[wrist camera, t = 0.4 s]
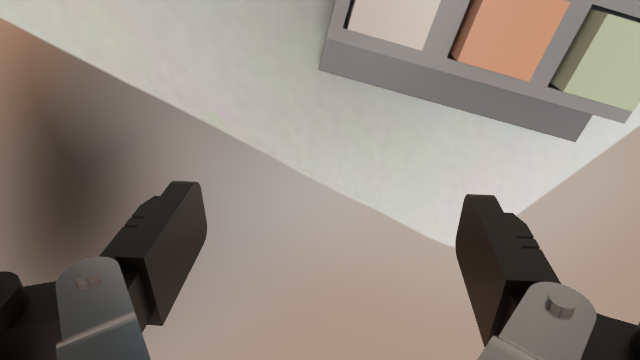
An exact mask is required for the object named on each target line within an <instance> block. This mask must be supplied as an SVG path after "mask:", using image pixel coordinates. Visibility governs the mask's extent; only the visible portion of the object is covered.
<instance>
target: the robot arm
mask: <svg viewBox="0 0 640 360" xmlns="http://www.w3.org/2000/svg"><path fill="white" fill-rule="evenodd" d="M206 233H207V222H206V216H205V210H204V204H203V198H202V192H201V187H200V184H199V183H198V182H188V181H172V182H171V183H170V184H169V186H168V187H167V188H166V189H165V191H164V192H163V193H162V195H161V196H154V197H152V198H151V199H149V200H148V201H146V202H145V203H143V204H142V205H140V206H139V208H138V209H137V210H136V211H135V213H134V214H133V215H132V218H130V219H129V220H128V221H127V222H126V224H125V226H124V227H122V229H121V230H120V231H119V232H118V233H117V235H116V236H115V237H114V238H113V240H112V241H111V242H110V243H109V245H108V246H107V247H106V248H105V250H104V251H103V252H102V253H101V254H100V256H99V257H93V258H89V259H85V260H82V261H79V262H77V263H75V264H73V265H72V266H70V267H69V268H67V269H66V270H65V271H64V272H62V274H61V275H60V276H59V277H58V279H57V281H55V282H49V283H43V284H37V285H32V286H26V287H23V285H22V283H21V281H20V279H19V277H18V276H17V275H16V274H14V273H11V272H0V360H150V356H149V353H148V350H147V347H146V344H145V341H144V338H143V335H142V332H143V330H144V329H145V327H146V325H159V326H162V325H163V324H164V322H165V320H166V318H167V316H168V314H169V312H170V310H171V308H172V306H173V304H174V302H175V300H176V298H177V296H178V294H179V292H180V290H181V288H182V286H183V284H184V282H185V280H186V278H187V276H188V274H189V272H190V270H191V268H192V266H193V264H194V262H195V260H196V258H197V256H198V254H199V252H200V250H201V248H202V246H203V244H204V241H205V239H206ZM456 255H457V259H458V262H459V266H460V269H461V272H462V275H463V278H464V282H465V285H466V288H467V292H468V295H469V298H470V301H471V305H472V308H473V311H474V314H475V318H476V321H477V324H478V327H479V331H480V334H481V337H482V340H483V343H484V347H485V349H484V350H483V352H482V353H481V355H480V356H479V358H478V360H640V323H639V325H634V324H631V323H627V322H624V321H620V320H617V319H613V318H609V317H606V316H603V315H600V314H598V313H596V311H595V309H594V307H593V305H592V304H591V303H590V301H589V300H588V299H587V298H586V297H584V296H583V295H582V294H580V293H579V292H577V291H576V290H574V289H572V288H570V287H568V286H565V285H562V284H561V283H560V281H559V279H558V278H557V276H556V274H555V273H554V271H553V269H552V267H551V266H550V264H549V262H548V261H547V259H546V257H545V256H544V254H543V252H542V250H540V249H539V245H538V243H537V242H536V240H535V239H533V235H532V233H531V232H530V230H529V228H528V226H527V225H526V224H525V223H524V222H523V221H521V220H520V219H519V218H518V217H517V216H515V215H514V214H513V213H504V212H503V210H502V208H501V207H500V205H499V203H498V201H497V199H496V197H495V196H493V195H473V194H467V195H466V197H465V199H464V203H463V207H462V212H461V217H460V221H459V226H458V231H457V236H456Z"/></svg>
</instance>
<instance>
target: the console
mask: <svg viewBox="0 0 640 360" xmlns="http://www.w3.org/2000/svg"><path fill="white" fill-rule="evenodd" d="M565 1H569V2H571V3H570V5H569V7H568V9H567V11H566V13H565V14H564V16H563V18H562V20H561V22H560V24H559V26H558V28H557V30H556V32H555V33H554V35H553V37H552V39H551V41H550V43H549V45H548V47H547V49H546V51H545V53H544V54H543V56H542V58H541V60H540V62H539V64H538V66H537V68H536V70H535V72H534V74H533V75H532V77H531V79H530V81H529V82H528V81H525V80H521V79H518V78H514V77H511V76H507V75H504V74H500V73H497V72H493V71H490V70H487V69H483V68H480V67H476V66H473V65H469V64H466V63H462V62H459V61H457V60H456V59H455V58H454V57H453V56H452V55H451V54H450V52H449V51H450V48H451V46H452V43H453V41H454V39H455V36H456V34H457V31H458V29H459V26H460V24H461V21H462V19H463V17H464V14H465V12H466V9H467V7H468V4H469V2H470V0H441V2H440V4H439V7H438V10H437V12H436V15H435V18H434V20H433V23H432V25H431V28H430V31H429V33H428V36H427V39H426V41H425V44H424V47H423V49H422V51H421V50H417V49H414V48H410V47H407V46H403V45H400V44H396V43H393V42H389V41H386V40H383V39H379V38H376V37H372V36H369V35H365V34H362V33H358V32H355V31H351V30H348V21H349V18H350V14H351V10H352V7H353V3H354V0H336V1H335V5H334V9H333V13H332V17H331V21H330V25H329V28H328V32H327V36H326V42H325V46H324V50H323V54H322V58H321V62H320V65H319V69H318V70H320V71H324V72H328V73H331V74H335V75H338V76H342V77H345V78H349V79H352V80H356V81H360V82H363V83H367V84H370V85H374V86H377V87H381V88H385V89H388V90H392V91H395V92H399V93H402V94H406V95H409V96H413V97H417V98H420V99H424V100H427V101H431V102H434V103H438V104H441V105H445V106H449V107H452V108H456V109H459V110H463V111H466V112H470V113H474V114H477V115H481V116H484V117H488V118H491V119H495V120H498V121H502V122H506V123H509V124H513V125H516V126H520V127H523V128H527V129H530V130H534V131H538V132H541V133H545V134H548V135H552V136H555V137H559V138H562V139H566V140H570V141H573V142H576V141H577V139H578V137H579V136H580V134H581V133H582V131H583V130H584V128H585V126H586V125H587V123H588V122H589V120H590V118H591V117H592V115H596V116H600V117H603V118H607V119H610V120H614V121H617V122H621V123H625V122H626V120H627V119H628V117H629V116H630V114H631V113H632V111H629V110H625V109H622V108H618V107H615V106H611V105H608V104H604V103H601V102H597V101H594V100H591V99H587V98H584V97H580V96H577V95H573V94H570V93H566V92H563V91H562V90H560V89H559V88H557V87H556V86H554V85H553V84H552V83H550V81H551V79H552V77H553V75H554V73H555V72H556V70H557V68H558V66H559V64H560V63H561V61H562V59H563V57H564V55H565V53H566V52H567V50H568V48H569V46H570V44H571V43H572V41H573V39H574V37H575V35H576V33H577V32H578V30H579V28H580V26H581V24H582V23H583V21H584V19H585V17H586V15H587V13H588V12H589V10H590V9H593V10H597V11H601V12H604V13H608V14H612V15H615V16H618V17H621V18H625V19H628V20H631V21H635V22H638V23H640V0H565Z"/></svg>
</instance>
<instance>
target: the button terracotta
mask: <svg viewBox="0 0 640 360" xmlns="http://www.w3.org/2000/svg"><path fill="white" fill-rule="evenodd" d="M570 3H571V2H569V1H565V0H470V2H469V4H468V7H467V9H466V12H465V14H464V17H463V19H462V21H461V24H460V26H459V29H458V31H457V34H456V36H455V39H454V41H453V43H452V46H451V48H450V51H449V52H450V54H451V55H452V56H453V57H454V58H455V59H456V60H457V61H459V62H462V63H466V64H469V65H473V66H476V67H480V68H483V69H487V70H490V71H493V72H497V73H500V74H504V75H507V76H511V77H514V78H518V79H521V80H525V81H528V82H529V81H530V79H531V77H532V75H533V74H534V72H535V70H536V68H537V66H538V64H539V62H540V60H541V58H542V56H543V54H544V53H545V51H546V49H547V47H548V45H549V43H550V41H551V39H552V37H553V35H554V33H555V32H556V30H557V28H558V26H559V24H560V22H561V20H562V18H563V16H564V14H565V13H566V11H567V9H568V7H569V5H570Z"/></svg>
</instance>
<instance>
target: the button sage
mask: <svg viewBox="0 0 640 360" xmlns="http://www.w3.org/2000/svg"><path fill="white" fill-rule="evenodd" d="M550 83H552V84H553V85H554V86H556V87H557V88H559V89H560V90H562V91H563V92H566V93H570V94H573V95H577V96H580V97H584V98H587V99H591V100H594V101H597V102H601V103H604V104H608V105H611V106H615V107H618V108H622V109H625V110H629V111H632V112H633V111H634V109H635V108H636V106H637V105H638V103H639V102H640V23H638V22H635V21H631V20H628V19H625V18H621V17H618V16H615V15H612V14H608V13H604V12H601V11H597V10H593V9H590V10H589V12H588V13H587V15H586V17H585V19H584V21H583V23H582V24H581V26H580V28H579V30H578V32H577V33H576V35H575V37H574V39H573V41H572V43H571V44H570V46H569V48H568V50H567V52H566V53H565V55H564V57H563V59H562V61H561V63H560V64H559V66H558V68H557V70H556V72H555V73H554V75H553V77H552V79H551V81H550Z"/></svg>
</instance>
